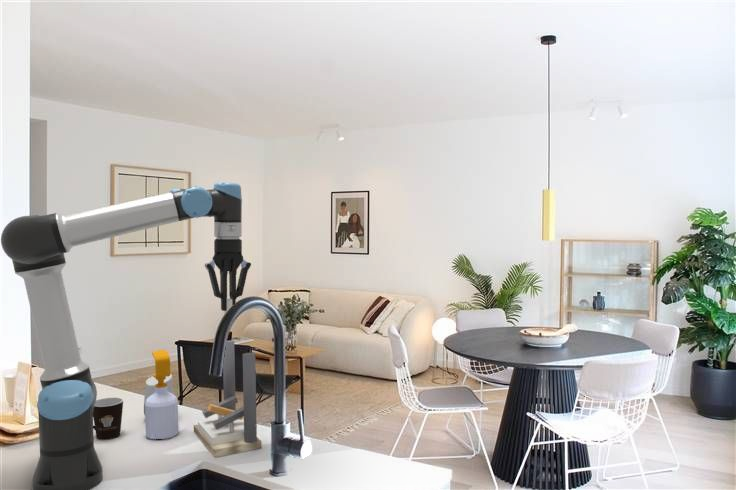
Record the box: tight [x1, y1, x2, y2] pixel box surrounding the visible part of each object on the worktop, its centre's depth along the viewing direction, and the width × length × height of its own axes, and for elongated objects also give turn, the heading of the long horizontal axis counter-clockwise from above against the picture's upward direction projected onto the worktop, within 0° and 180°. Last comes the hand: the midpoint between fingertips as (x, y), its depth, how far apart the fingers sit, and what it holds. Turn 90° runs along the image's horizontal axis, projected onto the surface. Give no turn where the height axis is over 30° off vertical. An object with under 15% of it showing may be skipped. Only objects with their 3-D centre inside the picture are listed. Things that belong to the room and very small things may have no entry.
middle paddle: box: [207, 403, 244, 420], centre depth 174 cm, size 10×2×2 cm, turn 120°
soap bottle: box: [144, 349, 180, 441], centre depth 178 cm, size 9×9×25 cm
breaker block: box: [197, 414, 244, 445], centre depth 174 cm, size 12×15×5 cm
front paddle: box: [212, 406, 244, 430], centre depth 169 cm, size 10×2×2 cm, turn 119°
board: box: [193, 424, 262, 458], centre depth 175 cm, size 13×22×2 cm, turn 29°
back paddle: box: [202, 395, 239, 419], centre depth 179 cm, size 10×2×2 cm, turn 119°
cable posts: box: [222, 340, 258, 443], centre depth 176 cm, size 3×22×24 cm, turn 29°
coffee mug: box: [93, 397, 124, 441], centre depth 178 cm, size 12×9×10 cm
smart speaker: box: [143, 373, 175, 416], centre depth 192 cm, size 10×9×14 cm
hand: (228, 321), depth 173 cm, fingers closed
